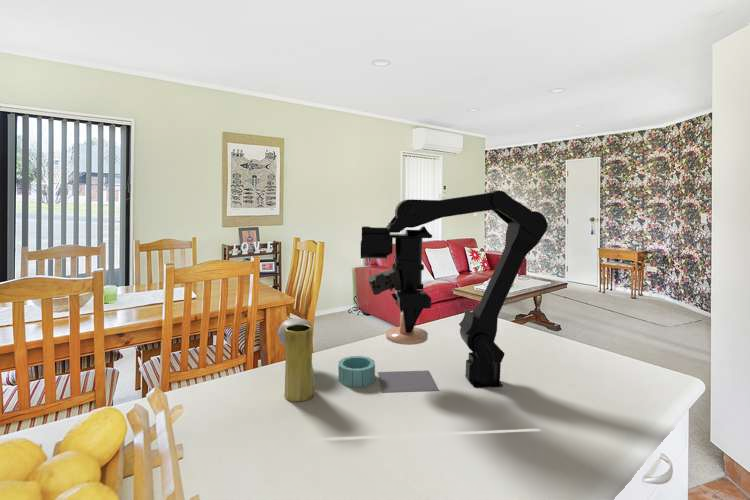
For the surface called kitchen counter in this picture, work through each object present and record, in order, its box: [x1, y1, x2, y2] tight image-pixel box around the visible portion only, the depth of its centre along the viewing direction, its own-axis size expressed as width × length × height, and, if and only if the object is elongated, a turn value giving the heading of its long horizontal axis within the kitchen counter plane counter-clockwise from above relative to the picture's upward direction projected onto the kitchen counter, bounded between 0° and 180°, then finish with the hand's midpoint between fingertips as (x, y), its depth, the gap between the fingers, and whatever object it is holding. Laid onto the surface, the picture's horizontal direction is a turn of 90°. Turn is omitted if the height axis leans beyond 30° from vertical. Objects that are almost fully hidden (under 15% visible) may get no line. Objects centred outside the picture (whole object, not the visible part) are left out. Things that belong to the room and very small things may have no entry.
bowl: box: [338, 355, 376, 388], centre depth 89 cm, size 8×8×4 cm
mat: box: [377, 370, 440, 394], centre depth 89 cm, size 12×10×1 cm
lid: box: [385, 311, 429, 346], centre depth 87 cm, size 9×9×6 cm
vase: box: [283, 324, 315, 402], centre depth 82 cm, size 6×6×14 cm
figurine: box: [277, 317, 314, 347], centre depth 95 cm, size 8×8×12 cm
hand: (407, 330), depth 87 cm, fingers closed on lid, 3 cm apart
